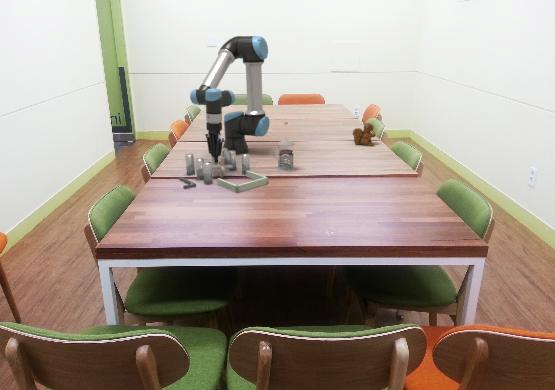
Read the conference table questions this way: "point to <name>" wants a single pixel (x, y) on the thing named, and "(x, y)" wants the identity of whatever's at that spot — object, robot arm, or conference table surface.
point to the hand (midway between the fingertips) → (215, 168)
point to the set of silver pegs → (206, 167)
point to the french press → (285, 157)
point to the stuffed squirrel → (364, 135)
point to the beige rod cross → (222, 167)
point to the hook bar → (190, 184)
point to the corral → (257, 182)
